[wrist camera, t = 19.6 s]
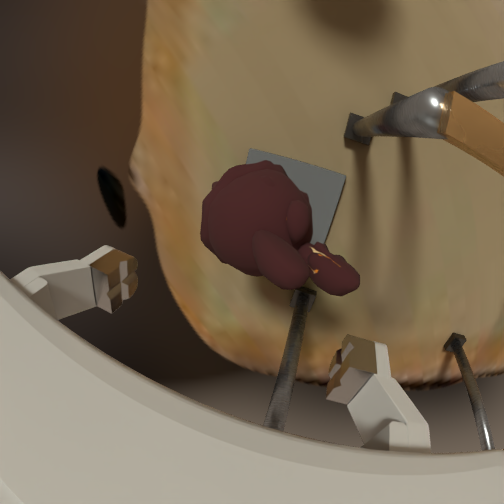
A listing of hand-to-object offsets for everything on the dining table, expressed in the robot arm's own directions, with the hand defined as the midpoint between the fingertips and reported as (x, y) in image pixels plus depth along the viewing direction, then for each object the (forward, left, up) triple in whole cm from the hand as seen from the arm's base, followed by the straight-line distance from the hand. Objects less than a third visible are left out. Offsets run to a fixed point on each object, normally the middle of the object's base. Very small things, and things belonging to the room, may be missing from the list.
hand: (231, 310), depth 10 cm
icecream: (+7, 0, -15) cm, 16 cm away
